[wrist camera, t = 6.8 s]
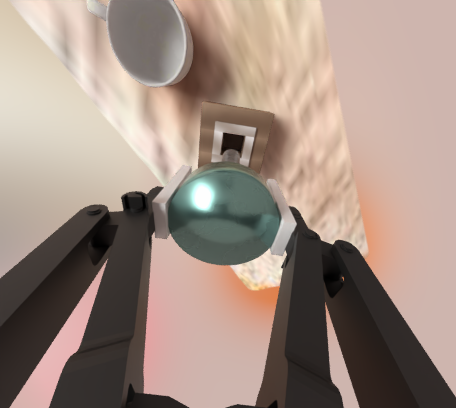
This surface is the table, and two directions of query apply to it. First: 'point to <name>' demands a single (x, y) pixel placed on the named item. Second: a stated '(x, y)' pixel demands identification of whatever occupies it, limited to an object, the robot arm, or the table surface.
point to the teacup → (148, 39)
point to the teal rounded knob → (224, 213)
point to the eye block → (235, 124)
